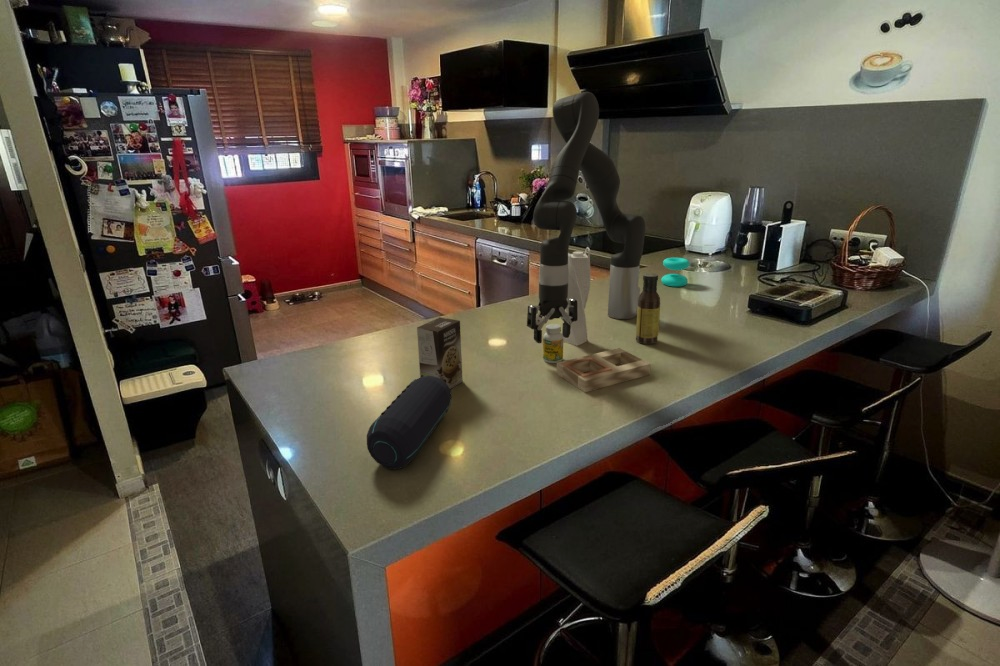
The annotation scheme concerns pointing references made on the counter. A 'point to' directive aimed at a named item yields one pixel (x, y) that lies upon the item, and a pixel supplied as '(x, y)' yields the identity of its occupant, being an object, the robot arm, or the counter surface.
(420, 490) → the counter surface
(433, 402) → the portable speaker
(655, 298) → the sauce bottle
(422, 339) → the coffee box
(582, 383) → the cup caddy
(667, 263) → the donuts
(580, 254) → the skyscraper
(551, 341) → the supplement bottle
